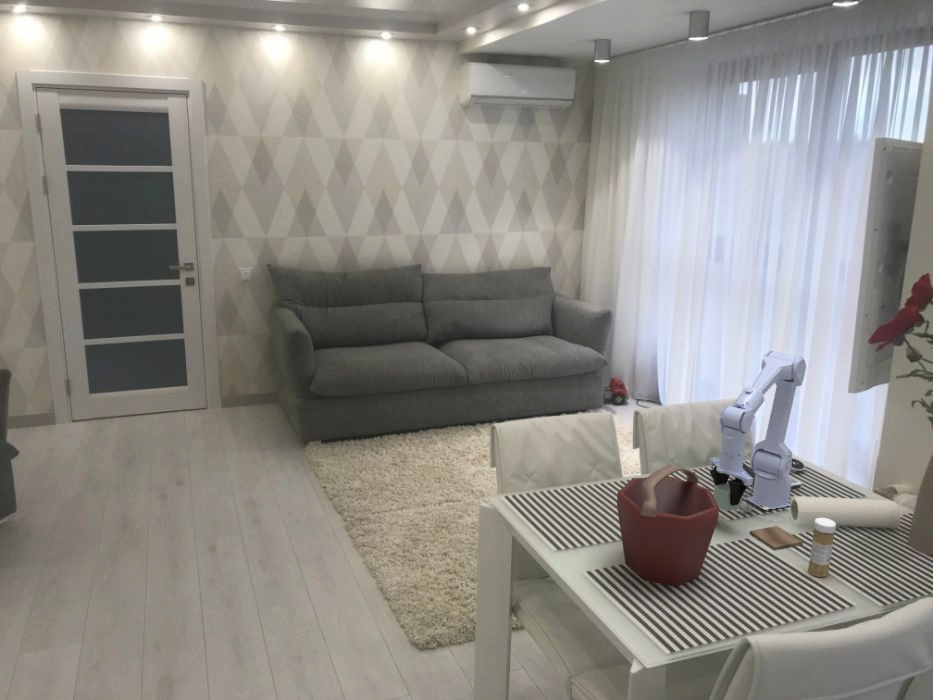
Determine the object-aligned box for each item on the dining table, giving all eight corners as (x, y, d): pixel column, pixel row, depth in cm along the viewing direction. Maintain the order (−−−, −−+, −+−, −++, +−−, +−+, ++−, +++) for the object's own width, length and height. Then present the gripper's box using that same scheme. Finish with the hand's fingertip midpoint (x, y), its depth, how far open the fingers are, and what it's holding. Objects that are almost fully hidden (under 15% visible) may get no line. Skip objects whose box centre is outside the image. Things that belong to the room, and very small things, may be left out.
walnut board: (776, 528, 198) (777, 525, 197) (802, 544, 189) (802, 541, 189) (749, 533, 194) (749, 531, 194) (774, 550, 186) (774, 547, 186)
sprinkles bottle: (816, 566, 179) (823, 515, 176) (832, 575, 175) (840, 523, 172) (803, 570, 177) (810, 519, 174) (819, 580, 173) (827, 527, 170)
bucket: (657, 604, 163) (666, 499, 157) (589, 559, 181) (595, 463, 175) (731, 573, 175) (742, 475, 169) (661, 534, 193) (669, 444, 187)
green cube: (728, 500, 199) (729, 482, 198) (740, 508, 195) (742, 490, 193) (712, 502, 197) (714, 485, 196) (725, 510, 193) (727, 493, 192)
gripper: (701, 443, 198) (697, 491, 201) (739, 464, 184) (733, 514, 188) (723, 440, 200) (718, 487, 203) (761, 460, 187) (756, 510, 190)
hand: (727, 500), depth 196 cm, fingers closed on green cube, 5 cm apart
